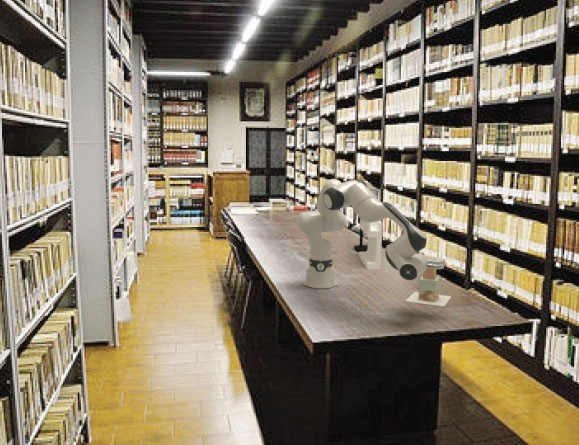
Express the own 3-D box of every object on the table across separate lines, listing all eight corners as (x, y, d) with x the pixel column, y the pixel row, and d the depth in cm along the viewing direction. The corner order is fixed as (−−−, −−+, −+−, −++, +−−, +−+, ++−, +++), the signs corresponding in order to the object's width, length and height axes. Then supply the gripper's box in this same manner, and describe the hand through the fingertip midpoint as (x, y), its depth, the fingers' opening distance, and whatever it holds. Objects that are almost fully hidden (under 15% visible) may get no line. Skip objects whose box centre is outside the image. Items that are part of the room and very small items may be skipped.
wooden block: (418, 299, 263) (418, 289, 262) (422, 295, 270) (422, 285, 269) (435, 301, 259) (435, 291, 259) (438, 297, 266) (439, 287, 266)
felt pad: (405, 301, 261) (405, 300, 261) (414, 292, 277) (414, 291, 277) (444, 307, 253) (444, 306, 253) (451, 297, 269) (451, 296, 269)
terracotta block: (423, 278, 262) (423, 257, 261) (425, 276, 266) (426, 256, 265) (433, 280, 260) (434, 259, 258) (435, 277, 264) (436, 257, 263)
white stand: (380, 269, 326) (382, 222, 322) (367, 269, 326) (368, 222, 322) (371, 257, 361) (372, 214, 357) (359, 256, 361) (360, 214, 357)
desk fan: (383, 254, 370) (385, 201, 365) (357, 254, 370) (358, 201, 365) (376, 246, 397) (378, 197, 392) (352, 246, 396) (353, 197, 391)
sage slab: (418, 289, 262) (419, 279, 261) (422, 285, 269) (423, 275, 268) (435, 291, 259) (436, 281, 258) (439, 287, 266) (439, 277, 265)
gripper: (442, 259, 234) (448, 253, 246) (394, 254, 243) (403, 248, 255) (441, 274, 235) (447, 267, 247) (394, 268, 244) (402, 261, 256)
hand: (424, 257), depth 251 cm, fingers open, 8 cm apart
